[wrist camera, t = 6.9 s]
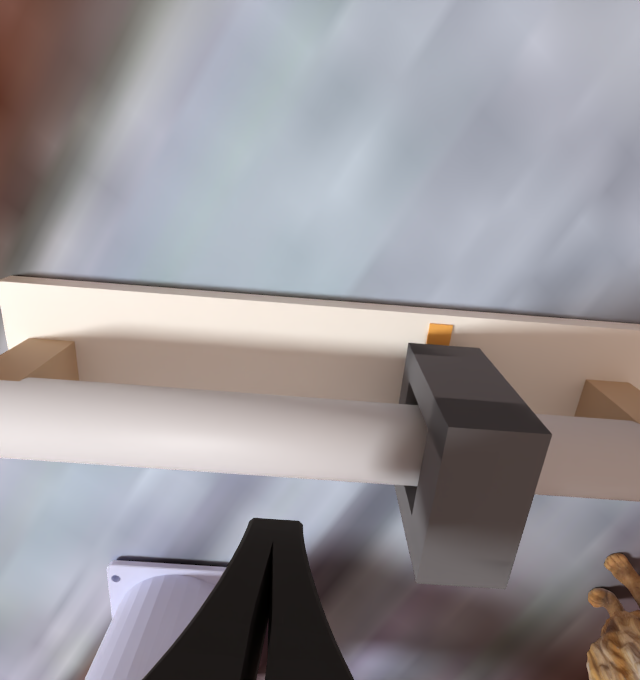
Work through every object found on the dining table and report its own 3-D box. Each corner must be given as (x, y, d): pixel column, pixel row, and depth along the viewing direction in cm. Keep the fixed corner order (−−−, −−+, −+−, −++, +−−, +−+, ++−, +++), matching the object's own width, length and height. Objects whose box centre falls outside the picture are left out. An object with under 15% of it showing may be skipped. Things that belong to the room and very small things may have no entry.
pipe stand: (602, 470, 24) (698, 576, 18) (36, 431, 23) (-66, 527, 17) (654, 325, 21) (790, 391, 15) (11, 275, 20) (-123, 324, 14)
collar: (453, 467, 22) (505, 589, 15) (389, 462, 21) (416, 583, 15) (479, 348, 19) (552, 434, 13) (408, 342, 19) (448, 427, 13)
